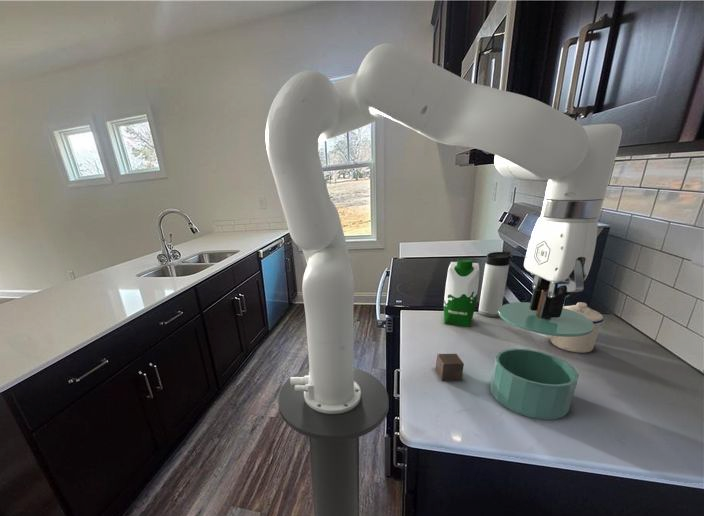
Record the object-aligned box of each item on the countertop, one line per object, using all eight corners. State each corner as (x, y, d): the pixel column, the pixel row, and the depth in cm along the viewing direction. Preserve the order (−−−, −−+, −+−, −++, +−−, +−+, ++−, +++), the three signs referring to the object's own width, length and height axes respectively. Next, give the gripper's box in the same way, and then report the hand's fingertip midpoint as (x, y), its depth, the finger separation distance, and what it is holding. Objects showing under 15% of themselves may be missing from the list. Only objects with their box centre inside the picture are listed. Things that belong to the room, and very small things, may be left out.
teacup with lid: (603, 350, 79) (617, 307, 75) (572, 356, 77) (585, 312, 73) (559, 330, 90) (568, 291, 86) (531, 334, 88) (539, 295, 84)
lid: (524, 340, 53) (531, 306, 51) (484, 307, 66) (489, 279, 64) (615, 339, 52) (627, 305, 50) (556, 306, 65) (564, 278, 63)
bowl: (511, 420, 59) (518, 386, 57) (479, 377, 72) (484, 349, 69) (586, 419, 58) (597, 386, 55) (540, 377, 71) (547, 347, 68)
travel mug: (506, 315, 101) (517, 253, 94) (488, 318, 99) (498, 256, 92) (490, 308, 107) (500, 249, 99) (473, 311, 105) (482, 252, 98)
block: (441, 380, 72) (443, 364, 70) (435, 369, 76) (437, 353, 74) (461, 380, 71) (464, 363, 70) (454, 369, 75) (456, 353, 74)
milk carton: (441, 324, 98) (447, 261, 90) (443, 313, 105) (449, 254, 98) (473, 328, 94) (482, 263, 86) (473, 316, 101) (482, 255, 94)
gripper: (518, 207, 60) (500, 298, 66) (582, 217, 45) (551, 333, 51) (560, 205, 59) (538, 297, 66) (639, 215, 44) (600, 333, 51)
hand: (544, 312), depth 58 cm, fingers closed on lid, 2 cm apart
